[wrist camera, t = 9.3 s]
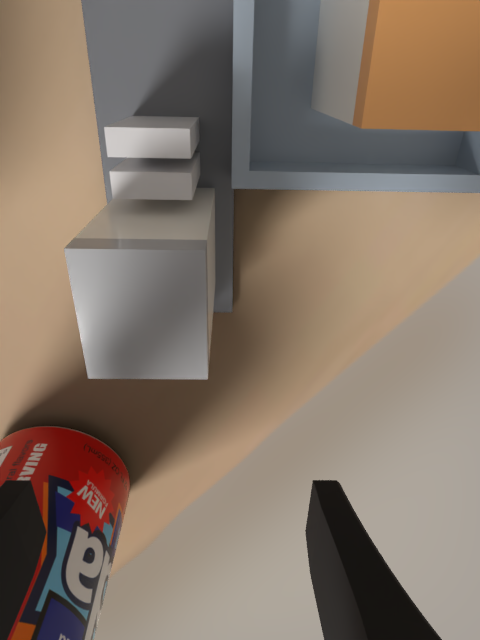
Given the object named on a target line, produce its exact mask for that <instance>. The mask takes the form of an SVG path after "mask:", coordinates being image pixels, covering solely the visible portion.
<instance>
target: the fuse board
mask: <svg viewBox="0 0 480 640" xmlns="http://www.w3.org/2000/svg"><path fill="white" fill-rule="evenodd" d="M81 2H82V10H83V17H84V25H85V33H86V41H87V49H88V57H89V64H90V72H91V80H92V88H93V96H94V104H95V111H96V119H97V127H98V135H99V143H100V151H101V159H102V166H103V174H104V182H105V190H106V198H107V204H108V203H109V202H110V201H111V200H112V199H148V200H192V199H193V196H194V193H195V190H196V188H215V295H214V307H213V312H232V300H233V225H234V189H232V86H233V0H81Z"/></svg>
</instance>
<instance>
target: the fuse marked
mask: <svg viewBox="0 0 480 640" xmlns="http://www.w3.org/2000/svg"><path fill="white" fill-rule="evenodd" d="M311 109H314V110H316V111H319V112H321V113H324V114H326V115H329V116H331V117H334V118H336V119H339V120H341V121H343V122H346V123H348V124H351V125H353V126H356V127H358V128H361V129H399V130H440V131H480V0H321V2H320V13H319V24H318V34H317V45H316V56H315V67H314V78H313V89H312V99H311Z"/></svg>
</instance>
